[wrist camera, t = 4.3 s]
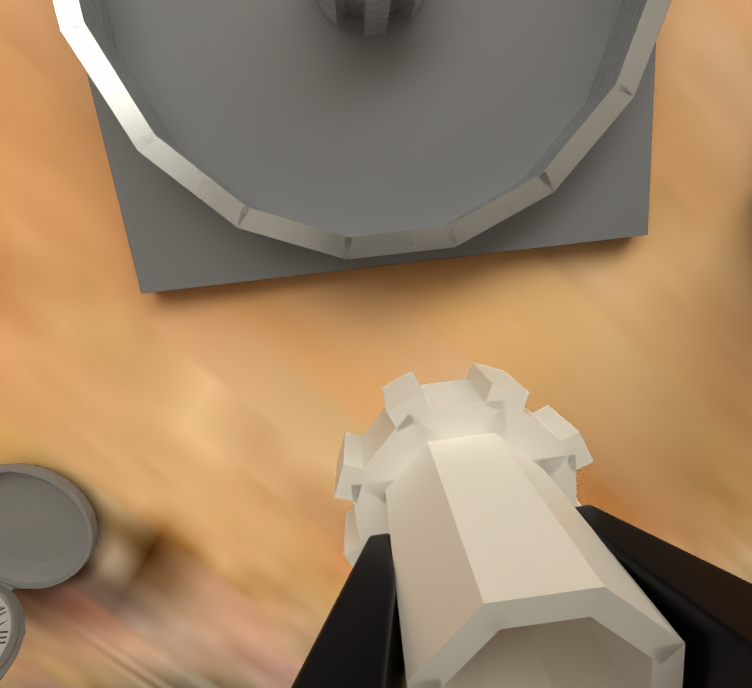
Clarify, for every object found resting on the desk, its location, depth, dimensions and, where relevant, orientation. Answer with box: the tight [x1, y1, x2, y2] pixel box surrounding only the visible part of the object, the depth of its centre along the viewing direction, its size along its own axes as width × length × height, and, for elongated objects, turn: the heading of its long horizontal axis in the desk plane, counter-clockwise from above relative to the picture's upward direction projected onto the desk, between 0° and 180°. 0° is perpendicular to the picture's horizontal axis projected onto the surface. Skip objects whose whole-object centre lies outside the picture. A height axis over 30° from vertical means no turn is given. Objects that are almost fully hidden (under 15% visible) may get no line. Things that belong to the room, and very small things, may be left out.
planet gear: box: [334, 362, 685, 688], centre depth 8 cm, size 6×6×6 cm
